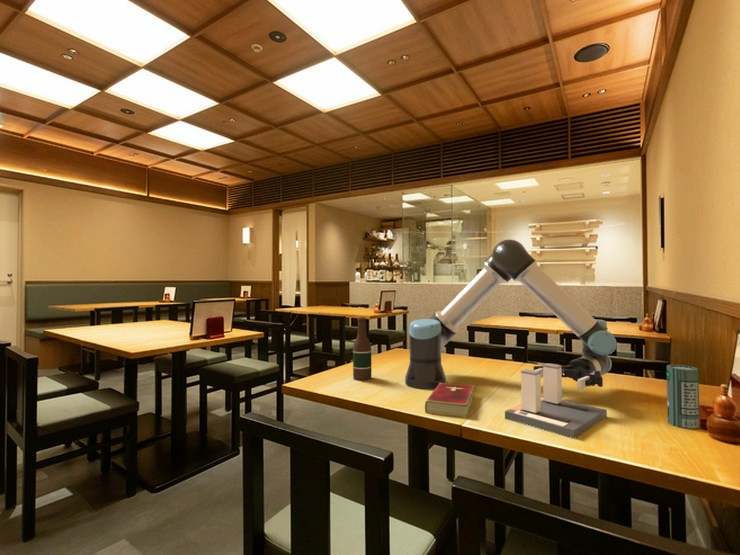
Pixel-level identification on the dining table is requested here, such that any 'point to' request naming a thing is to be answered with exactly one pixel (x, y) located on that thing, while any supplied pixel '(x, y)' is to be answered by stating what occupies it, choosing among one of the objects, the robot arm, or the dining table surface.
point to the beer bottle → (362, 353)
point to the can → (683, 396)
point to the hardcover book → (450, 399)
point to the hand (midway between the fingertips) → (554, 380)
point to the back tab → (552, 383)
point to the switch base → (552, 410)
